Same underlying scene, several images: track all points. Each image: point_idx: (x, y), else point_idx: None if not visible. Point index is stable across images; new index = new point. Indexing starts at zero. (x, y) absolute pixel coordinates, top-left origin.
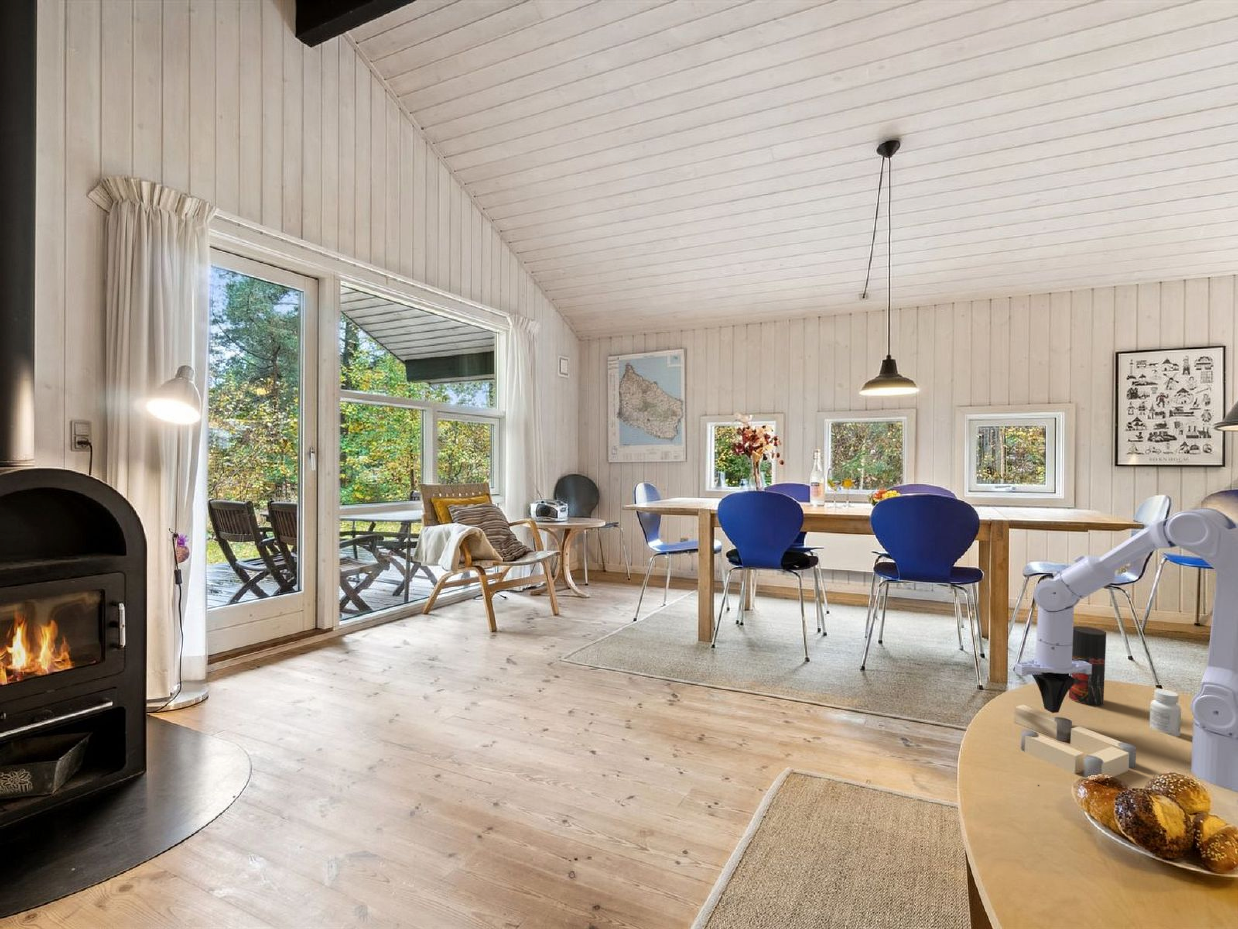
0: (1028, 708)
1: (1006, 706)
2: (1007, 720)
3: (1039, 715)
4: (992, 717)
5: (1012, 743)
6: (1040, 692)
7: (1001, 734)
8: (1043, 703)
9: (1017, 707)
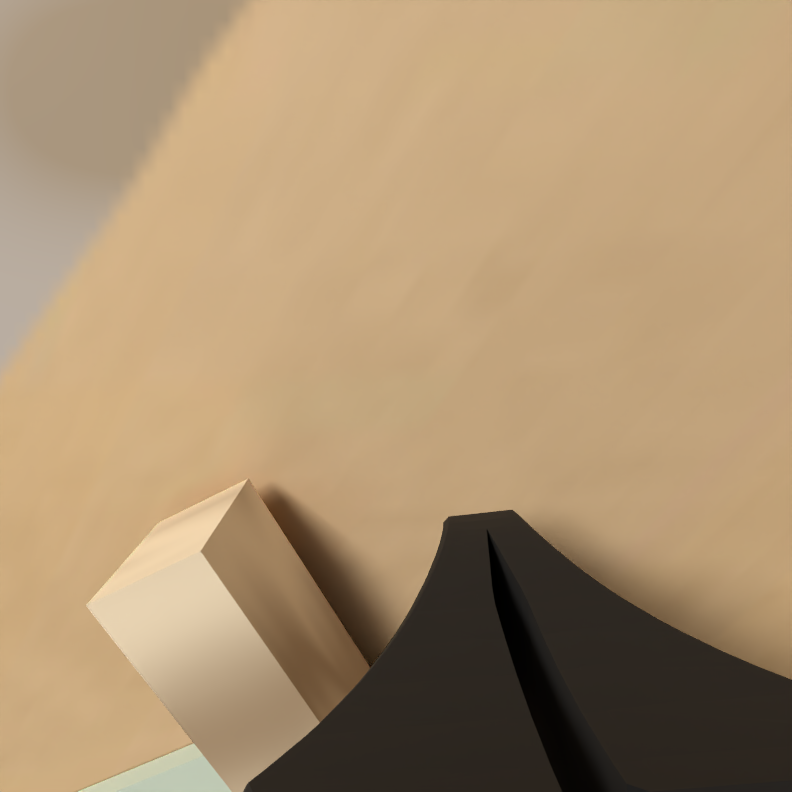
0: (209, 636)
1: (310, 99)
2: (166, 415)
3: (229, 766)
4: (64, 362)
5: (42, 732)
6: (417, 600)
7: (20, 629)
8: (443, 536)
9: (107, 618)
